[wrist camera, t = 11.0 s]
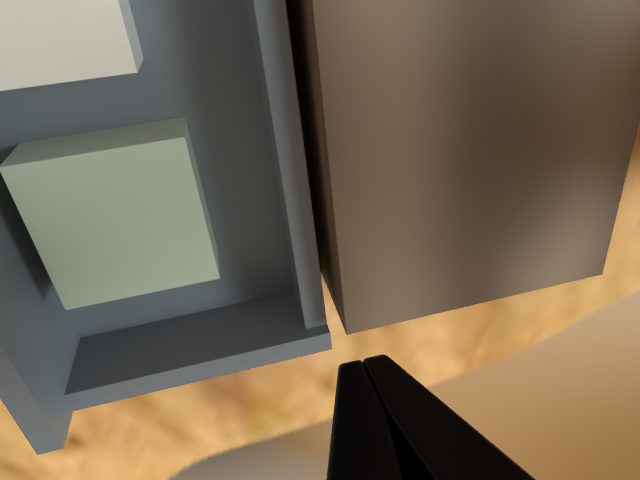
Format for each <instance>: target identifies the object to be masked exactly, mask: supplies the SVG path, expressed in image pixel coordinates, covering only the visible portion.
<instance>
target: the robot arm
mask: <svg viewBox="0 0 640 480" xmlns="http://www.w3.org/2000/svg"><path fill="white" fill-rule="evenodd" d="M327 480H535V479H534V478H533V477H532V476H531V475H529V474H528V473H527V472H526V471H525V470H523V469H522V468H521V467H520V466H519V465H517V464H516V463H515V462H514V461H513V460H511V459H510V458H509V457H508V456H507V455H505V454H504V453H503V452H502V451H501V450H499V449H498V448H497V447H496V446H495V445H493V444H492V443H491V442H490V441H489V440H487V439H486V438H485V437H484V436H483V435H482V434H480V433H479V432H478V431H477V430H475V429H474V428H473V427H472V426H471V425H470V424H468V423H467V422H466V421H465V420H463V419H462V418H461V417H460V416H459V415H457V414H456V413H455V412H454V411H453V410H452V409H450V408H449V407H448V406H447V405H446V404H444V403H443V402H442V401H441V400H440V399H438V398H437V397H436V396H435V395H433V394H432V393H431V392H430V391H429V390H428V389H426V388H425V387H424V386H423V385H422V384H420V383H419V382H418V381H417V380H416V379H414V378H413V377H412V376H411V375H410V374H408V373H407V372H406V371H405V370H404V369H402V368H401V367H400V366H399V365H398V364H396V363H395V362H394V361H393V360H392V359H390V358H389V357H388V356H386V355H378V356H374V357H369V358H366V359H364V360H363V362H362V361H360V360H357V361H352V362H348V363H344V364H341V365H340V366H339V369H338V378H337V387H336V396H335V406H334V415H333V424H332V434H331V444H330V453H329V463H328V471H327Z"/></svg>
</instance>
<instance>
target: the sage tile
mask: <svg viewBox="0 0 640 480" xmlns="http://www.w3.org/2000/svg"><path fill="white" fill-rule="evenodd" d="M0 172H1V175H2V177H3V179H4V181H5V183H6V185H7V187H8V189H9V191H10V194H11V196H12V198H13V200H14V202H15V204H16V206H17V208H18V211H19V213H20V215H21V217H22V219H23V221H24V223H25V225H26V228H27V230H28V232H29V234H30V236H31V238H32V240H33V242H34V245H35V247H36V249H37V251H38V253H39V255H40V257H41V259H42V261H43V264H44V266H45V268H46V270H47V272H48V274H49V276H50V278H51V281H52V283H53V285H54V287H55V289H56V291H57V293H58V295H59V298H60V300H61V302H62V304H63V306H64V308H65V310H69V309H74V308H79V307H84V306H89V305H94V304H98V303H103V302H108V301H113V300H118V299H123V298H128V297H133V296H137V295H142V294H147V293H152V292H157V291H162V290H167V289H171V288H176V287H181V286H186V285H191V284H196V283H201V282H206V281H210V280H215V279H220V274H219V262H218V251H217V245H216V241H215V237H214V233H213V229H212V225H211V220H210V216H209V212H208V208H207V204H206V200H205V196H204V192H203V188H202V184H201V179H200V175H199V171H198V167H197V163H196V159H195V155H194V151H193V147H192V142H191V138H190V134H189V130H188V126H187V122H186V118H185V117H181V118H174V119H168V120H162V121H156V122H149V123H143V124H137V125H131V126H124V127H118V128H112V129H105V130H99V131H93V132H87V133H80V134H74V135H68V136H61V137H55V138H49V139H43V140H36V141H30V142H24V143H19V145H18V146H17V147H16V148H15V149H14V150H13V151H12V153H11V154H10V155H9V156H8V157H7V158H6V159H5V161H4V162H3V163H2V164H1V165H0Z"/></svg>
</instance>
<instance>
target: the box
mask: <svg viewBox="0 0 640 480" xmlns="http://www.w3.org/2000/svg"><path fill="white" fill-rule="evenodd" d="M129 4H130V8H131V12H132V16H133V20H134V23H135V27H136V31H137V35H138V39H139V43H140V46H141V50H142V54H143V61H142V63H141V65H140V68H139V70H138V72H137V73H130V74H123V75H115V76H108V77H101V78H93V79H86V80H78V81H71V82H63V83H56V84H49V85H41V86H34V87H26V88H19V89H11V90H4V91H0V165H1V164H2V163H3V162H4V161H5V159H6V158H7V157H8V156H9V155H10V154H11V153H12V151H13V150H14V149H15V148H16V147H17V146H18V145H19V143H24V142H30V141H36V140H43V139H49V138H55V137H61V136H68V135H74V134H80V133H87V132H93V131H99V130H105V129H112V128H118V127H124V126H131V125H137V124H143V123H149V122H156V121H162V120H168V119H174V118H181V117H185V118H186V122H187V126H188V130H189V134H190V138H191V142H192V147H193V151H194V155H195V159H196V163H197V167H198V171H199V175H200V179H201V184H202V188H203V192H204V196H205V200H206V204H207V208H208V212H209V216H210V220H211V225H212V229H213V233H214V237H215V241H216V245H217V251H218V262H219V274H220V279H215V280H210V281H206V282H201V283H196V284H191V285H186V286H181V287H176V288H171V289H167V290H162V291H157V292H152V293H147V294H142V295H137V296H133V297H128V298H123V299H118V300H113V301H108V302H103V303H98V304H94V305H89V306H84V307H79V308H74V309H69V310H65V308H64V306H63V304H62V302H61V300H60V298H59V295H58V293H57V291H56V289H55V287H54V285H53V283H52V281H51V278H50V276H49V274H48V272H47V270H46V268H45V266H44V264H43V261H42V259H41V257H40V255H39V253H38V251H37V249H36V247H35V245H34V242H33V240H32V238H31V236H30V234H29V232H28V230H27V228H26V225H25V223H24V221H23V219H22V217H21V215H20V213H19V211H18V208H17V206H16V204H15V202H14V200H13V198H12V196H11V194H10V191H9V189H8V187H7V185H6V183H5V181H4V179H3V177H2V175H1V172H0V398H1V400H2V401H3V403H4V405H5V406H6V408H7V409H8V411H9V412H10V414H11V415H12V417H13V418H14V420H15V421H16V423H17V424H18V426H19V427H20V429H21V431H22V432H23V434H24V435H25V437H26V438H27V440H28V441H29V443H30V444H31V446H32V447H33V449H34V450H35V452H36V454H37V455H38V454H42V453H46V452H50V451H54V450H58V449H62V448H64V445H65V441H66V437H67V433H68V429H69V425H70V421H71V417H72V413H73V411H76V410H80V409H84V408H88V407H92V406H97V405H101V404H105V403H109V402H113V401H117V400H122V399H126V398H130V397H134V396H138V395H143V394H147V393H151V392H155V391H159V390H163V389H168V388H172V387H176V386H180V385H184V384H188V383H193V382H197V381H201V380H205V379H209V378H214V377H218V376H222V375H226V374H230V373H234V372H239V371H243V370H247V369H251V368H255V367H259V366H264V365H268V364H272V363H276V362H280V361H285V360H289V359H293V358H297V357H301V356H305V355H310V354H314V353H318V352H322V351H326V350H330V349H332V344H331V336H330V331H329V329H328V326H327V321H326V313H325V306H324V298H323V290H322V282H321V275H320V267H319V259H318V251H317V243H316V236H315V228H314V220H313V212H312V205H311V197H310V189H309V181H308V173H307V166H306V158H305V150H304V142H303V135H302V127H301V119H300V111H299V103H298V96H297V88H296V80H295V72H294V65H293V57H292V49H291V41H290V34H289V26H288V18H287V10H286V2H285V0H129Z"/></svg>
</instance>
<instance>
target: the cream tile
mask: <svg viewBox="0 0 640 480" xmlns="http://www.w3.org/2000/svg"><path fill="white" fill-rule="evenodd" d="M142 61H143V54H142V50H141V46H140V43H139V39H138V35H137V31H136V27H135V23H134V20H133V16H132V12H131V8H130V4H129V0H0V91H4V90H11V89H19V88H26V87H34V86H41V85H49V84H56V83H63V82H71V81H78V80H86V79H93V78H101V77H108V76H115V75H123V74H130V73H137V72H138V70H139V68H140V65H141V63H142Z"/></svg>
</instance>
